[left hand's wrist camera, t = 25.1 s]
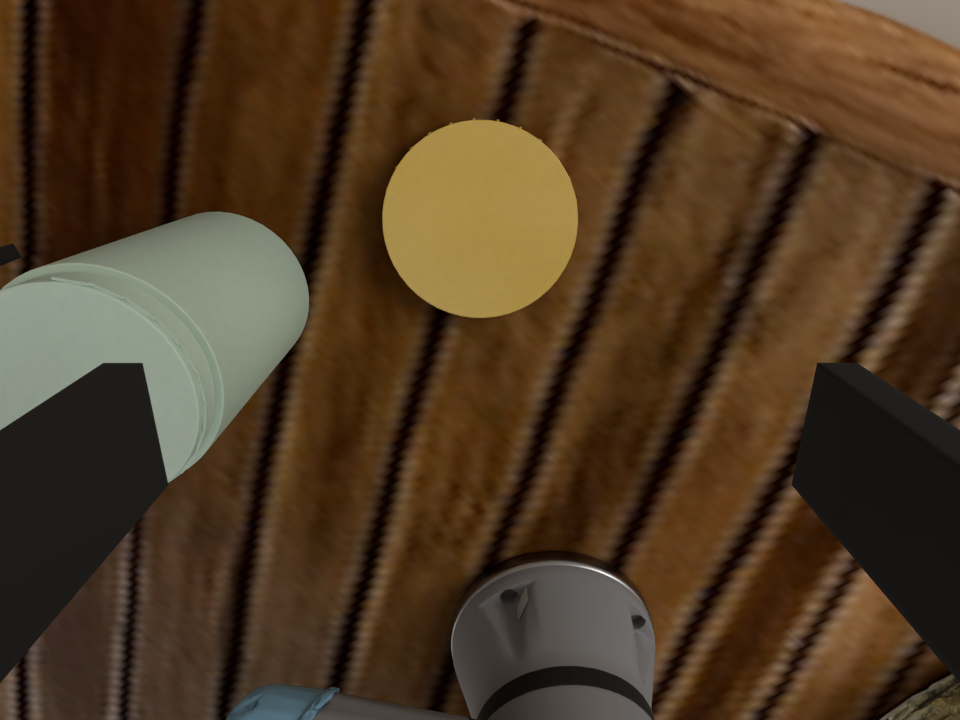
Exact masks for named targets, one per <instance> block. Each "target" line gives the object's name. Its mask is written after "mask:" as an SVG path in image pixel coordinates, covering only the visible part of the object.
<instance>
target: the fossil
mask: <svg viewBox="0 0 960 720" xmlns="http://www.w3.org/2000/svg"><path fill="white" fill-rule="evenodd" d="M880 720H960V683H959V681H958V680H957V679H956V678H955V677H954V676H953V674H951V675H949V676H947V677H945V678H944V679H942V680H940V681H938V682H936V683H933V684H932V685H931V686H930V687H929V688H928V689H927V690H925V691H923V692H920V693H918V694H916V695H914V696H912V697H910V698H909V699H908V700H906V701H905V702H903V703H902V704H900V705H899V706H897V707H896V708H895V709H893V710H892V711H890V712H889V713H887V714H886V715H885V716H884V717H883V718H881V719H880Z"/></svg>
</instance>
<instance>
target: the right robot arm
mask: <svg viewBox="0 0 960 720" xmlns="http://www.w3.org/2000/svg"><path fill="white" fill-rule="evenodd" d="M18 258H21V255H20V254H19V252H18V251H17V249H16V247H15V246H14V244H10V245H7V246H3V247H0V266H1V265H4V264H6V263H8V262H11V261H13V260H16V259H18Z"/></svg>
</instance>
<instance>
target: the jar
mask: <svg viewBox="0 0 960 720" xmlns="http://www.w3.org/2000/svg"><path fill="white" fill-rule="evenodd" d="M308 310H309V293H308V286H307V282H306V279H305V275H304V273H303V270H302V268H301V266H300V264H299V262H298V260H297V259H296V257H295V255H294V254H293V253H292V251H291V250H290V248H289V247H288V246H287V245H286V244H285V243H284V242H283V241H282V240H281V239H280V238H279V237H278V236H277V235H276V234H275V233H273V232H272V231H271V230H269V229H268V228H266V227H265V226H263V225H262V224H260V223H258V222H256V221H254V220H252V219H249V218H247V217H244V216H241V215H237V214H233V213H226V212H205V213H199V214H195V215H192V216H189V217H185V218H183V219H180V220H177V221H174V222H171V223H168V224H165V225H162V226H159V227H156V228H153V229H150V230H147V231H144V232H141V233H138V234H136V235H133V236H130V237H127V238H124V239H121V240H118V241H115V242H112V243H109V244H106V245H103V246H100V247H97V248H94V249H91V250H89V251H86V252H83V253H80V254H77V255H74V256H71V257H68V258H65V259H62V260H59V261H56V262H53V263H50V264H47V265H44V266H42V267H39V268H36V269H33V270H30V271H28V272H26V273H24V274H22V275H20V276H18V277H16V278H15V279H13V280H12V281H11V282H9V283H8V284H6V285H5V286H4V287H3V288H2V289H1V290H0V430H1V429H3V428H4V427H6V426H7V425H9V424H10V423H12V422H13V421H15V420H16V419H18V418H20V417H21V416H23V415H24V414H26V413H27V412H29V411H30V410H32V409H33V408H35V407H36V406H38V405H39V404H41V403H43V402H44V401H46V400H47V399H49V398H50V397H52V396H53V395H55V394H56V393H58V392H59V391H61V390H62V389H64V388H66V387H67V386H69V385H70V384H72V383H73V382H75V381H76V380H78V379H79V378H81V377H82V376H84V375H85V374H87V373H89V372H90V371H92V370H93V369H95V368H96V367H98V366H99V365H101V364H102V363H143V367H144V372H145V376H146V381H147V386H148V391H149V395H150V400H151V405H152V409H153V414H154V419H155V424H156V428H157V433H158V438H159V442H160V447H161V452H162V457H163V461H164V466H165V471H166V476H167V480H168V483H169V482H170V481H171V480H173V479H174V478H176V477H177V476H178V475H180V474H181V473H183V472H184V471H185V470H186V469H188V468H189V467H191V466H192V465H193V464H194V463H196V462H197V461H198V460H199V459H200V458H201V457H202V456H203V455H204V454H205V452H206V451H207V450H208V449H209V448H210V447H211V445H212V444H213V443H214V442H215V440H216V439H217V438H218V437H219V436H220V434H221V433H222V432H223V431H224V429H225V428H226V427H227V426H228V425H229V423H230V422H231V421H232V420H233V418H234V417H235V416H236V415H237V414H238V412H239V411H240V410H241V409H242V407H243V406H244V405H245V404H246V403H247V401H248V400H249V399H250V398H251V396H252V395H253V394H254V393H255V392H256V390H257V389H258V388H259V387H260V385H261V384H262V383H263V382H264V381H265V379H266V378H267V377H268V376H269V374H270V373H271V372H272V371H273V370H274V368H275V367H276V366H277V365H278V363H279V362H280V361H281V360H282V359H283V357H284V356H285V355H286V354H287V352H288V351H289V350H290V349H291V348H292V346H293V345H294V344H295V343H296V341H297V340H298V338H299V337H300V335H301V333H302V331H303V329H304V327H305V324H306V320H307V317H308Z"/></svg>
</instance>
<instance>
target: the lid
mask: <svg viewBox="0 0 960 720" xmlns="http://www.w3.org/2000/svg"><path fill="white" fill-rule="evenodd" d="M541 141H542V140H541V139H537V138H536V137H534V136H533V135H531V134H530V133H528V132H526V131H524V130H522V127H516V126H513V125H510V124H506V123H503V122H499V120H496V121H492V120H475V118H473V120H469V121H462V122H458V123H454V124H453V123H452V122H451V123H450V125H447V126H445V127H443V128H440V129H438V130H436V131H434V132H429V133H428V135H427V136H426V137H424V138H423V139H422V140H420V141H419V142H418V143H417V144H415V145H414V146H413V147H410V148H409V149H410V150H409V151H408V153H407V154H406V155H405V156H404V157H403V159H402V160H401V161H400V163H399V164H398V165H397V166H396V167H395V168H396V169H395V171H394V173H393V175H392V177H391V179H390V182H389V184H388V187H387V188H386V194H385V198H384V203H383V210H382V224H383V235H384V240H385V244H386V247H387V251H388V254H389V256H390V258H391V261H392V263H393V265H394V267H395V268H396V270H397V272H398V273H399V275H400V277H401V278H402V279H403V280H404V282H405V283H406V284H407V285H408V286H409V287H410V288H411V289H412V290H413V291H414V292H415V293H416V294H417V295H418V296H420V297H421V298H422V299H423V300H425V301H426V302H428V303H429V304H431V305H433V306H435V307H436V308H439V309H441V310H443V311H446V312H448V313H452V314H455V315H459V316H464V317H471V318H488V317H497V316H501V315H505V314H509V313H512V312H514V311H517V310H520V309H522V308H523V307H525V306H527V305H529V304H531V303H532V302H534V301H535V300H537V299H538V298H540V297H541V296H542V295H543V294H544V293H545V292H546V291H548V290H549V289H550V288H551V286H552V285H553V284H554V283H555V282H556V281H557V280H558V278H559V277H560V275H561V274H562V272H563V271H564V269H565V267H566V265H567V263H568V261H569V259H570V257H571V254H572V251H573V248H574V245H575V240H576V235H577V227H578V210H577V203H576V201H577V199H576V197H575V193H574V190H573V187H572V184H571V181H570V177H569V176H568V175H567V172H566V170H565V169H564V167H563V166H562V164H561V163H560V161H559V160H558V156H556V155H554V154H553V152H552V151H551V150H550V149H549V148H548V147H547V146H546V145H545V144H543V143H542V142H541Z"/></svg>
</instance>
